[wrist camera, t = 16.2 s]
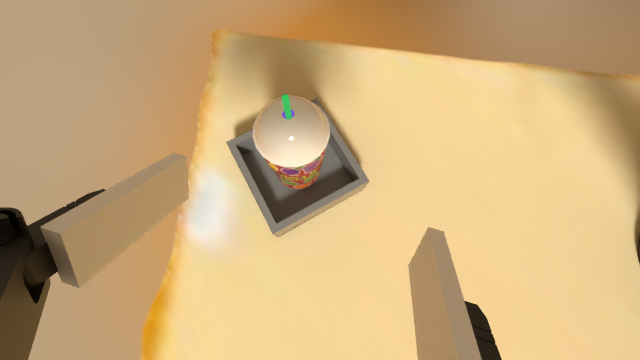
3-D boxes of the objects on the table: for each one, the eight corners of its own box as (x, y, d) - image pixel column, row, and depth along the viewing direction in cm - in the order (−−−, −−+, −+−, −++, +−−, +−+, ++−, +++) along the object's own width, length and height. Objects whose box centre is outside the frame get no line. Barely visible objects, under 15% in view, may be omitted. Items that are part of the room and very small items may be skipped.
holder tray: (363, 189, 43) (369, 181, 38) (277, 237, 41) (272, 234, 36) (316, 114, 47) (316, 98, 42) (235, 154, 44) (226, 142, 40)
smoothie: (281, 203, 41) (252, 155, 22) (265, 155, 43) (225, 72, 24) (333, 185, 42) (348, 124, 23) (314, 138, 44) (314, 46, 25)
